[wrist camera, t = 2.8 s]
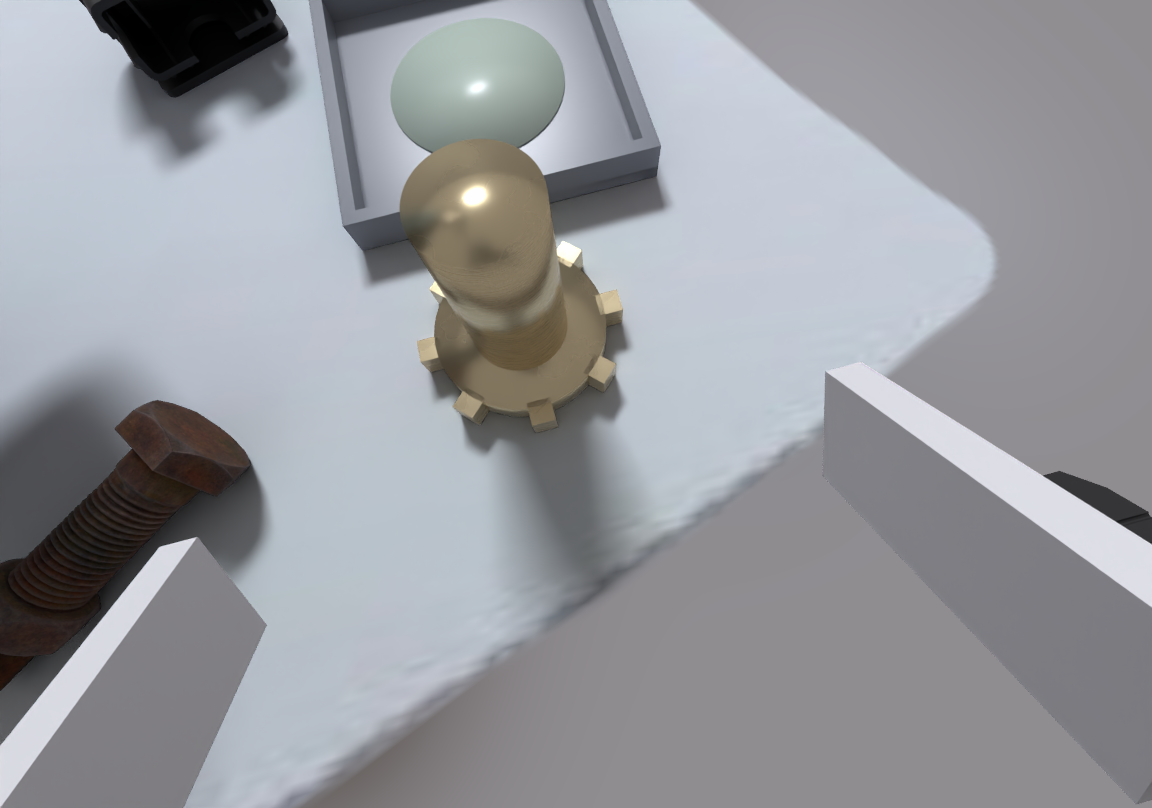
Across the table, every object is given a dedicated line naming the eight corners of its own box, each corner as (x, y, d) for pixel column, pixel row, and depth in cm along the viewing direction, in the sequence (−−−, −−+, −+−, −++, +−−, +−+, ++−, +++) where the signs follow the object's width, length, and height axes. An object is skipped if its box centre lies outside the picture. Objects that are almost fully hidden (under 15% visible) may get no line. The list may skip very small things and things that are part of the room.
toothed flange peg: (446, 456, 27) (334, 390, 16) (412, 277, 30) (298, 114, 19) (646, 403, 27) (678, 301, 16) (593, 231, 30) (588, 42, 19)
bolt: (34, 654, 27) (246, 438, 29) (26, 735, 24) (266, 484, 26) (-125, 633, 23) (137, 381, 25) (-163, 728, 19) (144, 428, 21)
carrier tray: (362, 250, 30) (342, 226, 28) (326, 28, 35) (307, -8, 33) (656, 175, 31) (660, 145, 28) (580, -34, 36) (578, -74, 33)
